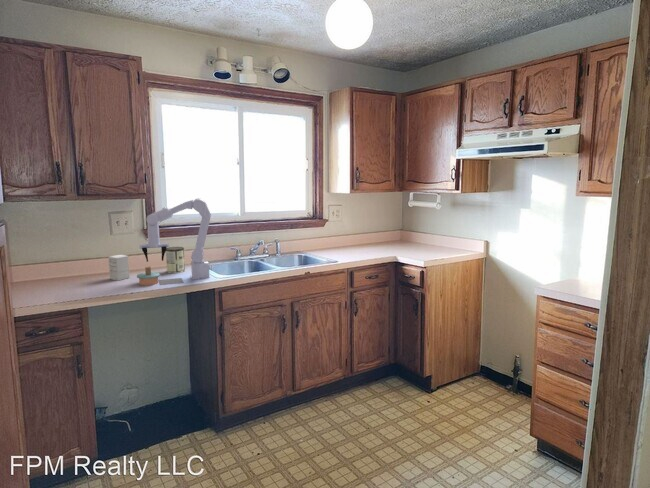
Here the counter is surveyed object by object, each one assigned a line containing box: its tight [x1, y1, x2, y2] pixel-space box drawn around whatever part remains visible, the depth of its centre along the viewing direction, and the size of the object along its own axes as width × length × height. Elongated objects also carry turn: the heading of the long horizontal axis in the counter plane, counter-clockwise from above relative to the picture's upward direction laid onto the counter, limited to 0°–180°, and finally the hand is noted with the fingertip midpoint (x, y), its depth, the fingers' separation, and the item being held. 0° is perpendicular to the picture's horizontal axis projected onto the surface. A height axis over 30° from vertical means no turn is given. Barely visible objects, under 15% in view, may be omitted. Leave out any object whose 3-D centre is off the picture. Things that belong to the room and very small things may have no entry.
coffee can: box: [165, 246, 186, 274], centre depth 251 cm, size 10×10×14 cm
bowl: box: [138, 276, 159, 286], centre depth 223 cm, size 9×9×4 cm
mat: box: [158, 277, 185, 286], centre depth 227 cm, size 12×12×1 cm
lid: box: [136, 266, 161, 279], centre depth 223 cm, size 11×11×5 cm
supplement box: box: [107, 254, 130, 281], centre depth 233 cm, size 7×7×13 cm
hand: (155, 260), depth 231 cm, fingers open, 7 cm apart
